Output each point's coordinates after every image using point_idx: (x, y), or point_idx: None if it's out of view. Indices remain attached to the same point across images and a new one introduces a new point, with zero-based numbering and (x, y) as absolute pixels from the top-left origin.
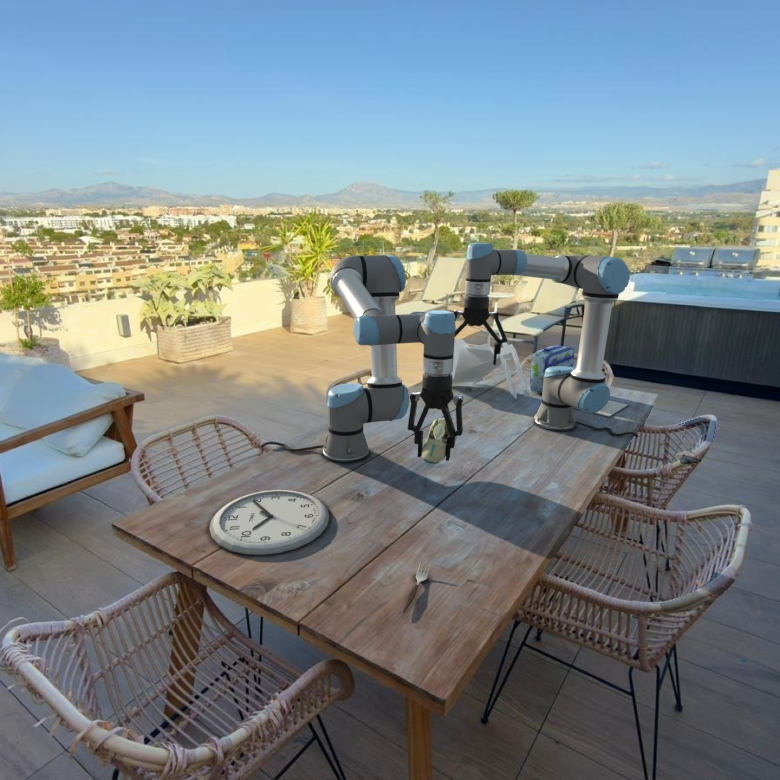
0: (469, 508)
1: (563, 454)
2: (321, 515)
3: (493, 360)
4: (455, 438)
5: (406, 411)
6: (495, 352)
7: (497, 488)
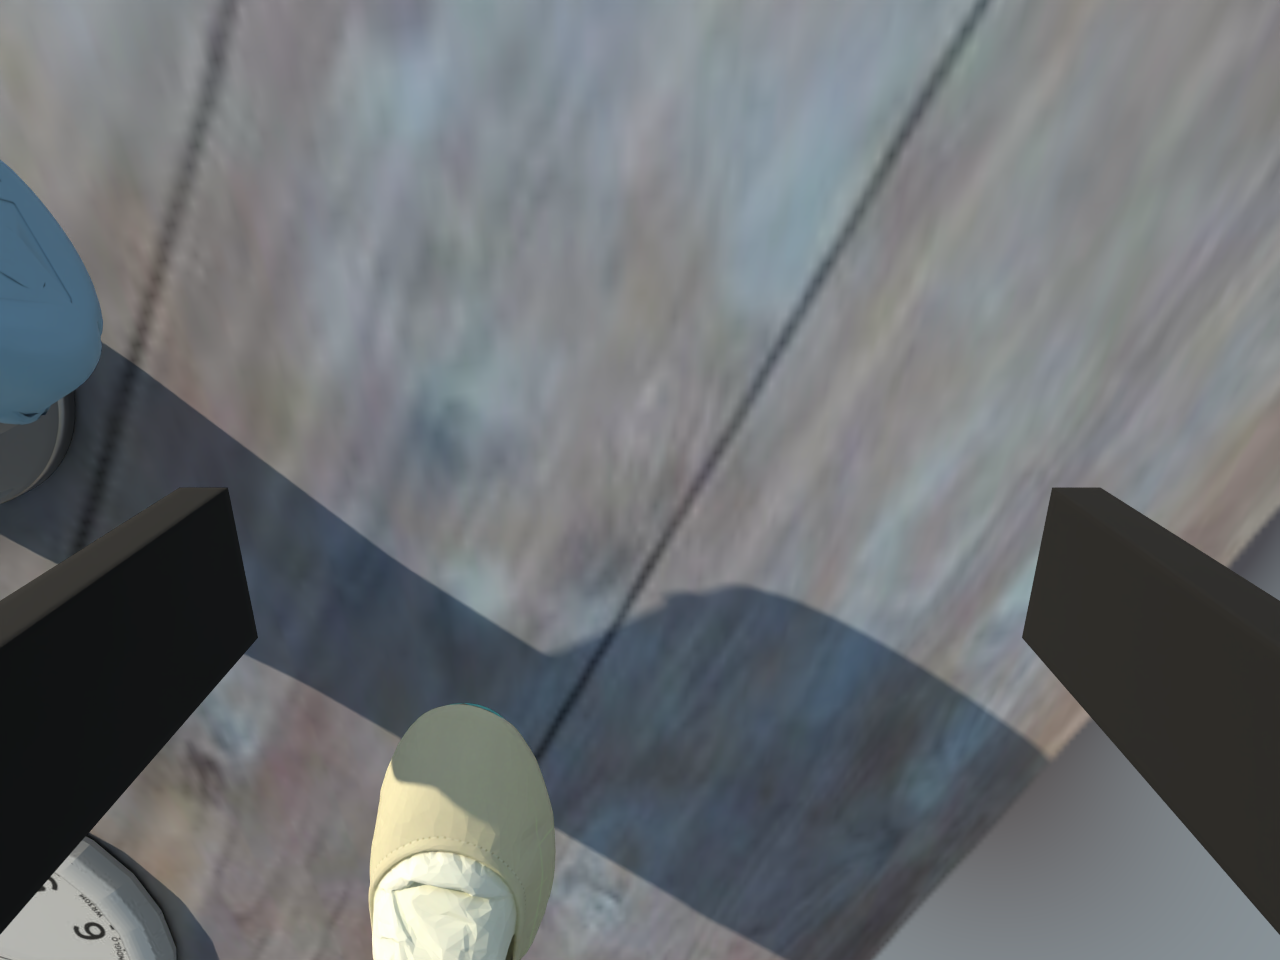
0: (641, 794)
1: (1261, 180)
2: (131, 942)
3: (1070, 614)
4: (541, 911)
5: (95, 363)
6: (1206, 815)
7: (770, 639)
